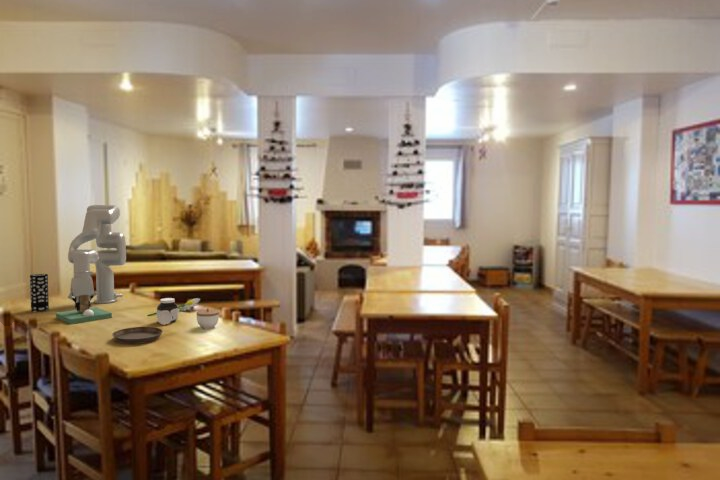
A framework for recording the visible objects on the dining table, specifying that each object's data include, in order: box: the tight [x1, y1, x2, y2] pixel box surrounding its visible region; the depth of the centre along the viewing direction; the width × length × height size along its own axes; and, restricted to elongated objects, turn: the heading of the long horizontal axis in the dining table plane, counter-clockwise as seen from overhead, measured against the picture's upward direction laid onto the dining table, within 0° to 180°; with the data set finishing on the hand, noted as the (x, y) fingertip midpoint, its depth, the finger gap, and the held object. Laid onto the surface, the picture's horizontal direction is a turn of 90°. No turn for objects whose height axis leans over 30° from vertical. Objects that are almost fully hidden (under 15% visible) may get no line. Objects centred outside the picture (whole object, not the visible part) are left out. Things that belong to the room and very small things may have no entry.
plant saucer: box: [111, 326, 164, 345], centre depth 221 cm, size 21×21×3 cm
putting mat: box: [55, 307, 113, 325], centre depth 258 cm, size 20×20×2 cm
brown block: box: [77, 295, 90, 313], centre depth 259 cm, size 4×5×9 cm
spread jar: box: [156, 297, 179, 326], centre depth 251 cm, size 12×11×12 cm
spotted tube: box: [29, 273, 50, 313], centre depth 272 cm, size 8×8×20 cm
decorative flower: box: [147, 297, 201, 317], centre depth 275 cm, size 13×5×30 cm
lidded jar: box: [195, 308, 220, 329], centre depth 243 cm, size 11×11×9 cm
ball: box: [83, 309, 94, 316], centre depth 255 cm, size 5×5×5 cm
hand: (82, 308), depth 259 cm, fingers closed on brown block, 4 cm apart
